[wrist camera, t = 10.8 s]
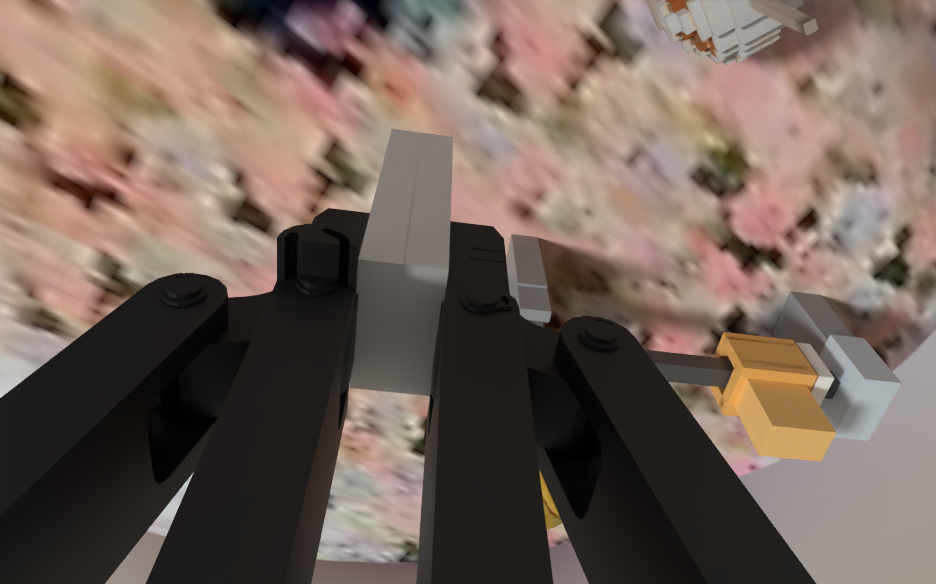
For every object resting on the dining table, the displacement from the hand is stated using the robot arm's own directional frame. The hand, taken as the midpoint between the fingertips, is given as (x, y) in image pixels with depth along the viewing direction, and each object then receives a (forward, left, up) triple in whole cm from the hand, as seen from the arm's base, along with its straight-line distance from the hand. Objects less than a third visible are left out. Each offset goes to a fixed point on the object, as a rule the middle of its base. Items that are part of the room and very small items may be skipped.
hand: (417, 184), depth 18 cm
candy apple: (+16, +3, -31) cm, 35 cm away
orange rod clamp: (+24, -20, -23) cm, 39 cm away
